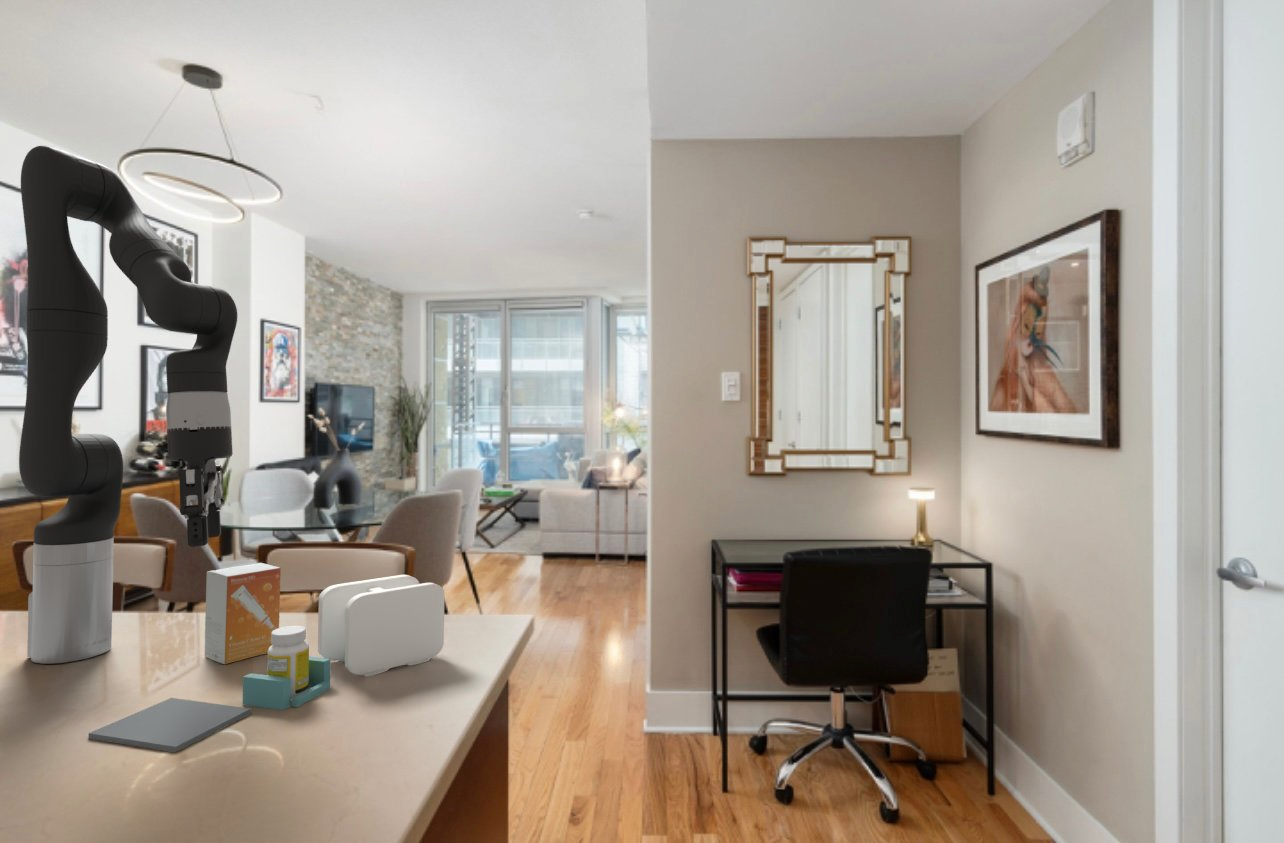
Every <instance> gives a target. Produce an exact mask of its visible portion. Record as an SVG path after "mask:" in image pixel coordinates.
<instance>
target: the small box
mask: <svg viewBox="0 0 1284 843" xmlns="http://www.w3.org/2000/svg"><path fill="white" fill-rule="evenodd" d="M281 575H282V574H281V567H279V566H275V565H272V564H267V563H263V562H257V563H252V564H245V565H237V566H230V567H226V568H219V569H215V570H209V571H206V586H205V588H206V589H205V618H204V619H205V621H204V657H205V658H207V659H209V660H212V661H214V662H217V663H219V664H223V665H227V664H231V663H235V662H238V661H241V660H246V659H249V658H253V657H257V656H261V655H265V654H268V649H269V648H270V646H272V645H273V644H271V633H272V631H273V630H275V629H278V628H280V610H281V609H280V607H281V606H280V604H281V603H280V602H281V601H280V600H281Z"/></svg>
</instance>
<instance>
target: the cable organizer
mask: <svg viewBox="0 0 1284 843" xmlns="http://www.w3.org/2000/svg"><path fill="white" fill-rule="evenodd" d="M317 620H318V622H317V624H318V626H317V652H318V655H320V657H321V658H328V659H330V662H334V661H338V662H342V663H344V666H345V668H346V669H347V670H348V671H349V672H350V673H352V674H354V675H357V676H364V677H370V676H375V675H378V674H381V673H385V672H387V671H389V669H391V668H392V669H393V668H396V667H401V666H403V665H404V666H405V665H407V666H413V665H414V666H415V665H419V664H423V663H427V662H429V661H430V659H432V658H434V657H436V656H437V655H438V654H440V653H441V651H442V649H443V648H444V644H445V642H444V641H445V590H444V589H443V587H442V586H441V585H439V584H436V583H434V582H423V583H420V581H419V580H418V579H417V578H416V577H413V576H411V575H409V574H397V575H391V576H384V577H378V578H377V577H376V578H371V579H365V580H357V581H350V582H344V583H338V584H337V583H336V584H332V585H329V586H328V587H326V588H324V589H323V590H322V591H321V593H320V594H319V596H318V617H317Z"/></svg>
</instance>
